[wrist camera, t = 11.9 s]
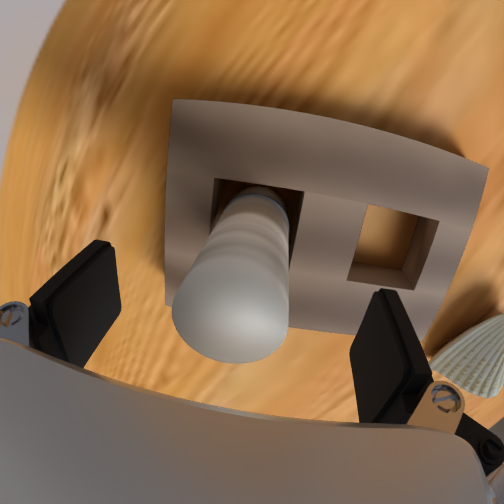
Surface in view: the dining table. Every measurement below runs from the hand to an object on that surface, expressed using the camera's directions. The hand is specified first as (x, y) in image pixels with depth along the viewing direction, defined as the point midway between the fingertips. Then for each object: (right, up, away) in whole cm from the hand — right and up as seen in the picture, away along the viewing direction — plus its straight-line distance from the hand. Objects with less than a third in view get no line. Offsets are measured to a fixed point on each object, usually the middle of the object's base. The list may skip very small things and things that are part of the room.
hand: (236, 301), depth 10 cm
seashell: (+22, -6, +13) cm, 26 cm away
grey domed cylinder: (+1, +4, +10) cm, 11 cm away
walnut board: (+5, +4, +10) cm, 12 cm away
